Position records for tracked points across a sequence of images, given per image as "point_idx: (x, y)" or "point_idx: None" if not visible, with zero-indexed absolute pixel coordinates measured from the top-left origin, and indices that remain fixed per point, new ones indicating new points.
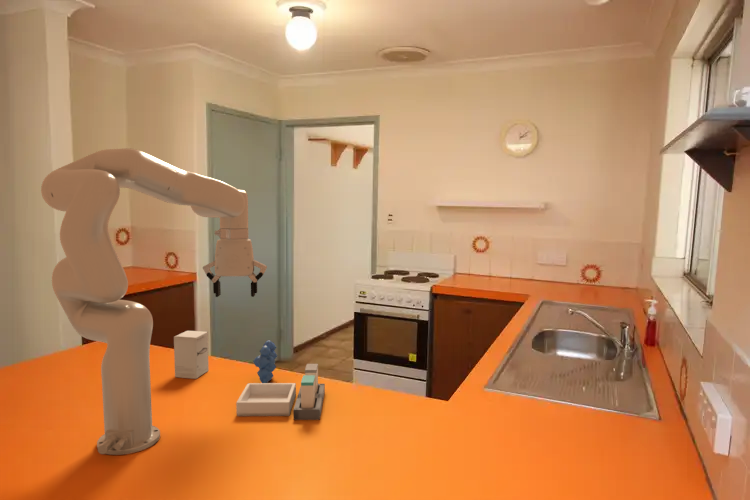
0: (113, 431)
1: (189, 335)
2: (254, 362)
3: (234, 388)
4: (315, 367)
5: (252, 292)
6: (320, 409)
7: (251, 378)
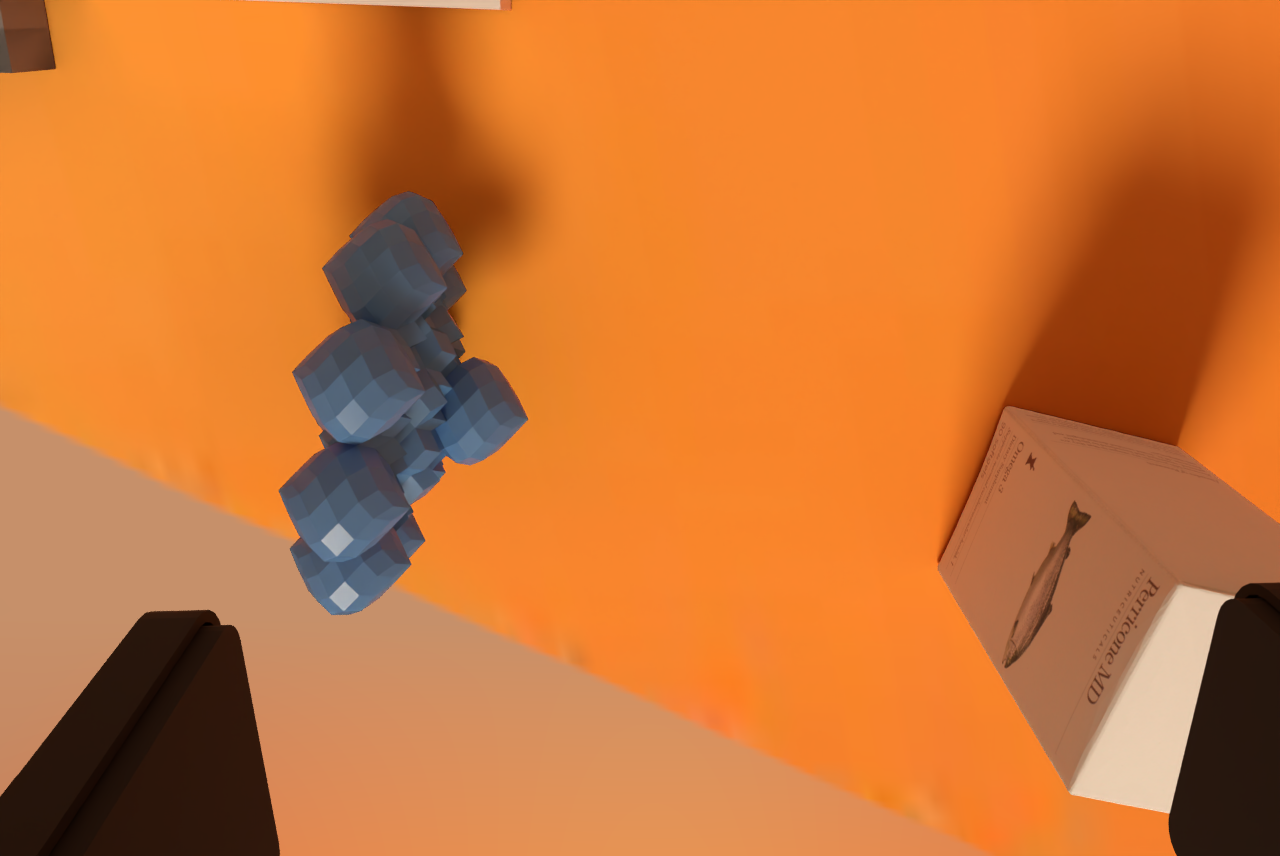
0: None
1: None
2: (505, 382)
3: (661, 189)
4: None
5: (121, 677)
6: None
7: (566, 407)
